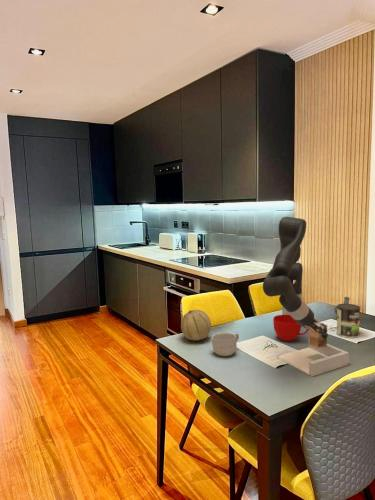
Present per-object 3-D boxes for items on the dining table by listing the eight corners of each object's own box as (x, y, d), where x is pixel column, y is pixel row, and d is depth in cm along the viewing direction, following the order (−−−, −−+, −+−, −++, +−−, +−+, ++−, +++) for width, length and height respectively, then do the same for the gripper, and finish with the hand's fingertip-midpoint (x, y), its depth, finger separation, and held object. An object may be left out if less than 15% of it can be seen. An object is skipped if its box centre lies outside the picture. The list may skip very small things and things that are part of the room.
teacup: (220, 360, 151) (220, 342, 150) (207, 351, 161) (206, 334, 160) (247, 353, 158) (247, 336, 157) (233, 345, 167) (233, 328, 166)
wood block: (318, 349, 146) (318, 327, 145) (309, 345, 150) (309, 324, 149) (327, 346, 148) (327, 325, 147) (318, 342, 152) (318, 322, 151)
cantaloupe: (217, 340, 174) (217, 309, 172) (193, 347, 166) (192, 316, 164) (199, 331, 186) (198, 303, 184) (175, 338, 178) (174, 308, 176)
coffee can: (364, 336, 174) (365, 307, 172) (348, 339, 170) (349, 310, 168) (347, 329, 183) (347, 302, 182) (331, 332, 179) (332, 305, 177)
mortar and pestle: (350, 324, 191) (351, 301, 190) (332, 320, 197) (332, 299, 195) (356, 318, 200) (356, 297, 198) (338, 315, 206) (338, 294, 204)
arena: (276, 357, 153) (276, 346, 152) (311, 348, 162) (311, 337, 161) (312, 376, 135) (312, 363, 135) (348, 364, 144) (348, 352, 144)
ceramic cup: (301, 348, 161) (302, 326, 160) (268, 339, 173) (268, 319, 172) (314, 339, 171) (314, 319, 170) (281, 332, 182) (281, 312, 181)
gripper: (319, 308, 137) (340, 333, 144) (292, 300, 150) (313, 323, 157) (308, 324, 135) (330, 348, 142) (282, 314, 148) (303, 337, 155)
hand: (321, 335), depth 149 cm, fingers closed on wood block, 4 cm apart
